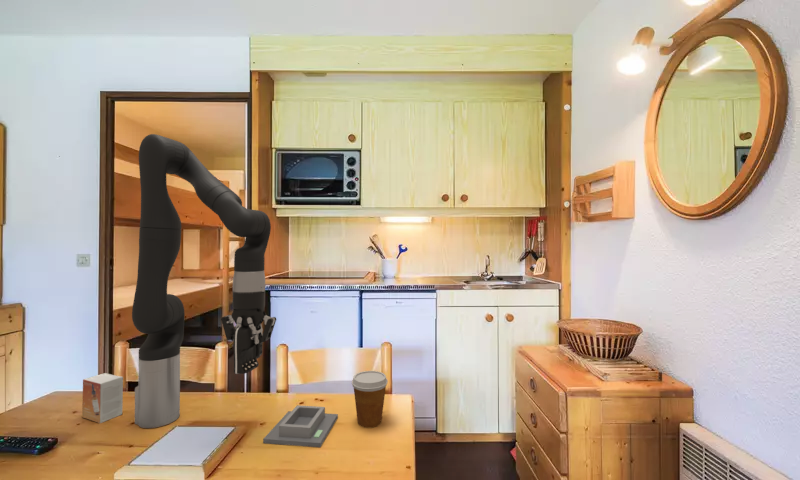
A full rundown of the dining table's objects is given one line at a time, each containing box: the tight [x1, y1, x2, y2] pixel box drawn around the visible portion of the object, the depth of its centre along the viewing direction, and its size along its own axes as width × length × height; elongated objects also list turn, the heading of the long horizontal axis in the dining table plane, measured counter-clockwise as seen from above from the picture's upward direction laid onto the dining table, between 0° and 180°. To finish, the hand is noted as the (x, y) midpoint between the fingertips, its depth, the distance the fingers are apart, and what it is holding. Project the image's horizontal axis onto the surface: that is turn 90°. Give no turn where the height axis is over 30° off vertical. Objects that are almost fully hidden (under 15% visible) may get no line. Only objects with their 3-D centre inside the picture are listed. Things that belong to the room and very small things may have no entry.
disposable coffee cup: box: [351, 370, 388, 429], centre depth 95 cm, size 10×10×12 cm
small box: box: [81, 372, 124, 424], centre depth 98 cm, size 8×6×10 cm
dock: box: [262, 405, 339, 448], centre depth 91 cm, size 14×14×4 cm
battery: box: [233, 326, 259, 375], centre depth 89 cm, size 7×4×11 cm, turn 168°
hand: (248, 357), depth 89 cm, fingers closed on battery, 4 cm apart
